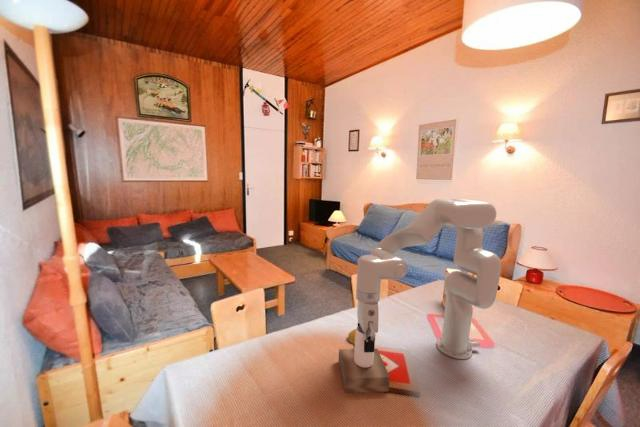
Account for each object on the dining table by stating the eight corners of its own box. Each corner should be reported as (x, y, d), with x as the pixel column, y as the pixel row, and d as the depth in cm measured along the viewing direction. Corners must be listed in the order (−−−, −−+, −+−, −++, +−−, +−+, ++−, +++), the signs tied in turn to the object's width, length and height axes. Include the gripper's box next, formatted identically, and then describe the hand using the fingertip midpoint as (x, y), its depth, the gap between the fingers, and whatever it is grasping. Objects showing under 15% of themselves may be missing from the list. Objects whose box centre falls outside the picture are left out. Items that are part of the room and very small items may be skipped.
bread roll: (361, 350, 108) (362, 341, 107) (344, 339, 115) (345, 330, 114) (374, 342, 113) (375, 333, 113) (358, 332, 120) (358, 323, 119)
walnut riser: (376, 361, 102) (377, 348, 101) (388, 391, 88) (389, 377, 88) (338, 361, 101) (339, 349, 100) (344, 392, 87) (345, 378, 86)
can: (374, 358, 96) (376, 325, 94) (371, 370, 90) (374, 336, 88) (355, 353, 98) (357, 322, 96) (352, 365, 92) (354, 332, 90)
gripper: (387, 307, 82) (384, 359, 85) (372, 282, 99) (369, 327, 102) (362, 307, 81) (359, 360, 84) (351, 282, 98) (349, 327, 101)
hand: (365, 342), depth 93 cm, fingers open, 9 cm apart
